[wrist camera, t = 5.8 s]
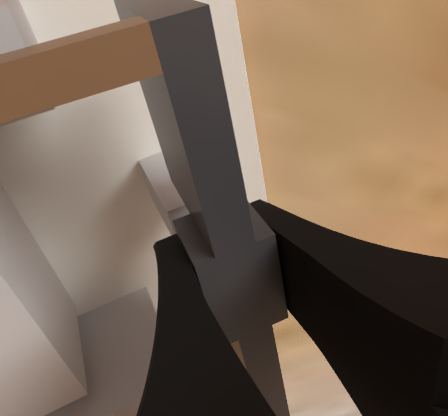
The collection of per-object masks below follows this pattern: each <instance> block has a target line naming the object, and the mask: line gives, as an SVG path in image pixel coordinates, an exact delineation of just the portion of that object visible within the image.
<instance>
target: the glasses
mask: <svg viewBox="0 0 448 416" xmlns="http://www.w3.org/2000/svg"><path fill="white" fill-rule="evenodd" d="M114 3H115V6H116V9H117V13H118V16H119V19H120V21H118V22H115V23H111V24H107V25H104V26H100V27H97V28H93V29H90V30H86V31H82V32H79V33H75V34H72V35H68V36H64V37H61V38H57V39H54V40H50V41H47V42H43V43H39V44H36V45H32V46H29V47H25V48H21V49H18V50H14V51H11V52H7V53H4V54H0V124H2V123H5V122H9V121H12V120H15V119H18V118H21V117H25V116H28V115H31V114H34V113H37V112H41V111H44V110H47V109H50V108H54V107H57V106H60V105H63V104H66V103H70V102H73V101H76V100H79V99H83V98H86V97H89V96H92V95H95V94H99V93H102V92H105V91H108V90H112V89H115V88H118V87H121V86H124V85H128V84H131V83H134V82H137V81H140V85H141V88H142V91H143V94H144V97H145V100H146V103H147V106H148V110H149V113H150V116H151V119H152V122H153V125H154V128H155V131H156V135H157V138H158V141H159V144H160V147H161V150H162V153H163V157H164V160H165V163H166V166H167V169H168V172H169V175H170V178H171V181H172V183H173V185H174V186H175V188H176V190H177V192H178V193H179V195H180V197H181V199H182V201H183V202H184V204H185V206H186V208H187V209H188V211H189V213H190V214H188V215H185V216H183V217H180V218H178V219H175V220H172V222H173V225H174V228H175V231H176V234H177V236H178V238H179V239H180V241H181V243H182V245H183V247H184V249H185V251H186V253H187V255H188V257H189V259H190V261H191V264H192V266H193V269H194V272H195V274H196V277H197V279H198V282H199V285H200V287H201V290H202V292H203V295H204V297H205V299H206V301H207V304H208V306H209V308H210V309H211V311H212V313H213V315H214V316H215V318H216V320H217V322H218V323H219V325H220V327H221V329H222V330H223V332H224V334H225V335H226V337H227V339H228V340H229V342H230V344H231V345H232V347H233V349H234V350H235V352H236V354H237V355H238V357H239V359H240V360H241V362H242V363H243V365H244V367H245V368H246V370H247V371H248V373H249V375H250V376H251V378H252V380H253V381H254V383H255V384H256V386H257V387H258V389H259V390H260V392H261V393H262V395H263V396H264V398H265V400H266V401H267V403H268V404H269V406H270V407H271V409H272V410H273V412H274V413H275V415H276V416H290V415H289V410H288V404H287V399H286V394H285V389H284V384H283V379H282V374H281V369H280V364H279V358H278V353H277V348H276V343H275V338H274V333H273V328H272V325H273V324H275V323H277V322H279V321H282V320H284V319H286V318H288V312H287V306H286V300H285V293H284V287H283V280H282V274H281V267H280V261H279V255H278V248H277V242H276V235H275V233H274V232H273V231H272V230H271V228H270V227H269V226H268V225H267V224H266V222H265V221H264V220H263V219H262V218H261V216H260V215H259V214H258V213H257V212H256V210H255V209H254V208H253V207H252V206H251V204H250V203H249V202H248V200H247V195H246V190H245V185H244V180H243V175H242V170H241V164H240V159H239V154H238V149H237V144H236V139H235V134H234V129H233V124H232V119H231V113H230V108H229V103H228V98H227V93H226V88H225V83H224V78H223V73H222V67H221V62H220V57H219V52H218V47H217V42H216V37H215V32H214V27H213V22H212V16H211V11H210V6H209V4H206V3H202V2H199V1H195V0H114Z"/></svg>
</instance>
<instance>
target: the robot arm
mask: <svg viewBox="0 0 448 416" xmlns="http://www.w3.org/2000/svg"><path fill="white" fill-rule="evenodd" d="M250 204H251V206H252V207H253V208H254V209H255V210H256V212H257V213H258V214H259V215H260V216H261V218H262V219H263V220H264V221H265V222H266V224H267V225H268V226H269V227H270V228H271V230H272V231H273V232H274V233H275V235H276V242H277V248H278V255H279V261H280V267H281V274H282V280H283V287H284V293H285V300H286V306H287V309H288V310H289V311H290V313H291V314H292V315H293V316H294V318H295V319H296V320H297V321H298V322H299V324H300V325H301V326H302V327H303V329H304V330H305V331H306V332H307V334H308V335H309V336H310V337H311V338H312V340H313V341H314V342H315V344H316V345H317V346H318V348H319V349H320V351H321V352H322V353H323V355H324V356H325V358H326V359H327V361H328V362H329V364H330V366H331V367H332V369H333V370H334V372H335V373H336V375H337V376H338V378H339V379H340V381H341V382H342V384H343V386H344V387H345V389H346V390H347V392H348V393H349V395H350V397H351V398H352V400H353V401H354V403H355V404H356V406H357V408H358V409H359V411H360V412H361V414H362V416H448V259H447V258H441V257H434V256H428V255H423V254H417V253H412V252H407V251H402V250H397V249H393V248H389V247H385V246H381V245H377V244H374V243H370V242H366V241H363V240H359V239H356V238H353V237H350V236H347V235H344V234H341V233H338V232H336V231H333V230H330V229H327V228H325V227H322V226H320V225H317V224H315V223H312V222H310V221H307V220H305V219H303V218H300V217H298V216H296V215H294V214H291V213H289V212H287V211H285V210H283V209H280V208H278V207H276V206H274V205H272V204H270V203H267V202H265V201H263V200H261V199H259V200H256V201H254V202H251V203H250ZM153 248H154V251H155V255H156V261H157V271H158V305H157V318H156V328H155V336H154V343H153V349H152V355H151V360H150V364H149V369H148V374H147V378H146V383H145V387H144V391H143V394H142V398H141V401H140V405H139V408H138V411H137V415H136V416H276V415H275V413H274V412H273V410H272V409H271V407H270V406H269V404H268V403H267V401H266V400H265V398H264V396H263V395H262V393H261V392H260V390H259V389H258V387H257V386H256V384H255V383H254V381H253V380H252V378H251V376H250V375H249V373H248V371H247V370H246V368H245V367H244V365H243V363H242V362H241V360H240V359H239V357H238V355H237V354H236V352H235V350H234V349H233V347H232V345H231V344H230V342H229V340H228V339H227V337H226V335H225V334H224V332H223V330H222V329H221V327H220V325H219V323H218V322H217V320H216V318H215V316H214V315H213V313H212V311H211V309H210V308H209V306H208V304H207V301H206V299H205V297H204V295H203V292H202V290H201V287H200V285H199V282H198V279H197V277H196V274H195V272H194V269H193V266H192V264H191V261H190V259H189V257H188V255H187V253H186V251H185V249H184V247H183V245H182V243H181V241H180V239H179V238H178V236H177V234H174V235H171V236H169V237H167V238H164V239H162V240H159V241H157V242H155V244H154V246H153Z"/></svg>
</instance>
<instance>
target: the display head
mask: <svg viewBox="0 0 448 416" xmlns="http://www.w3.org/2000/svg"><path fill="white" fill-rule="evenodd" d="M195 1H199V2H202V3H206V4H209V6H210V11H211V16H212V22H213V27H214V32H215V37H216V42H217V47H218V52H219V57H220V62H221V67H222V73H223V78H224V83H225V88H226V93H227V98H228V103H229V108H230V113H231V119H232V124H233V129H234V134H235V139H236V144H237V149H238V154H239V159H240V164H241V170H242V175H243V180H244V185H245V190H246V195H247V200H248V202H249V203H251V202H254V201H256V200H259V199H261V200H263V201H265V202H267V196H266V190H265V184H264V178H263V171H262V165H261V159H260V153H259V147H258V140H257V134H256V128H255V122H254V115H253V109H252V103H251V97H250V90H249V84H248V78H247V72H246V66H245V59H244V53H243V47H242V41H241V34H240V28H239V22H238V16H237V9H236V3H235V0H195ZM118 21H120V19H119V16H118V13H117V9H116V6H115V3H114V0H0V54H4V53H7V52H11V51H14V50H18V49H21V48H25V47H29V46H32V45H36V44H39V43H43V42H47V41H50V40H54V39H57V38H61V37H64V36H68V35H72V34H75V33H79V32H82V31H86V30H90V29H93V28H97V27H100V26H104V25H107V24H111V23H115V22H118ZM188 214H190V213H189V211H188V209H187V208H186V206H185V204H184V202H183V201H182V199H181V197H180V195H179V193H178V192H177V190H176V188H175V186H174V185H173V183H172V181H171V178H170V175H169V172H168V169H167V166H166V163H165V160H164V157H163V153H162V150H161V147H160V144H159V141H158V138H157V135H156V131H155V128H154V125H153V122H152V119H151V116H150V113H149V110H148V106H147V103H146V100H145V97H144V94H143V91H142V88H141V85H140V81H137V82H134V83H131V84H128V85H124V86H121V87H118V88H115V89H112V90H108V91H105V92H102V93H99V94H95V95H92V96H89V97H86V98H83V99H79V100H76V101H73V102H70V103H66V104H63V105H60V106H57V107H54V108H50V109H47V110H44V111H41V112H37V113H34V114H31V115H28V116H25V117H21V118H18V119H15V120H12V121H9V122H5V123H2V124H0V416H136V415H137V411H138V408H139V405H140V401H141V398H142V394H143V391H144V387H145V383H146V378H147V374H148V369H149V364H150V360H151V355H152V349H153V343H154V336H155V328H156V318H157V305H158V271H157V261H156V255H155V251H154V248H153V246H154V244H155V242H157V241H159V240H162V239H164V238H167V237H169V236H171V235H174V234H176V231H175V228H174V225H173V222H172V220H175V219H178V218H180V217H183V216H185V215H188Z"/></svg>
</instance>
